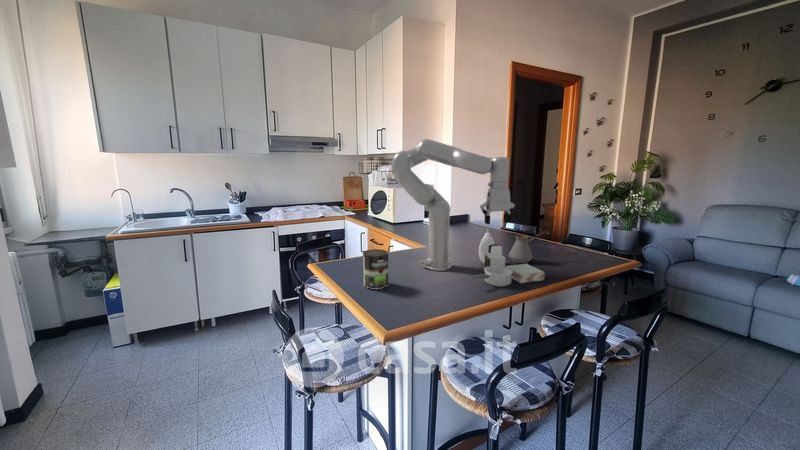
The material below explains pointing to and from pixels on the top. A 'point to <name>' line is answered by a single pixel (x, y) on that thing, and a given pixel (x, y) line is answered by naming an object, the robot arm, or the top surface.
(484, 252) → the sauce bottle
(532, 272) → the plinth
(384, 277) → the coffee can
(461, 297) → the top surface
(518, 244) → the coffee pot
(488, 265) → the medicine bottle
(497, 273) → the saucepan
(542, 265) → the top surface
